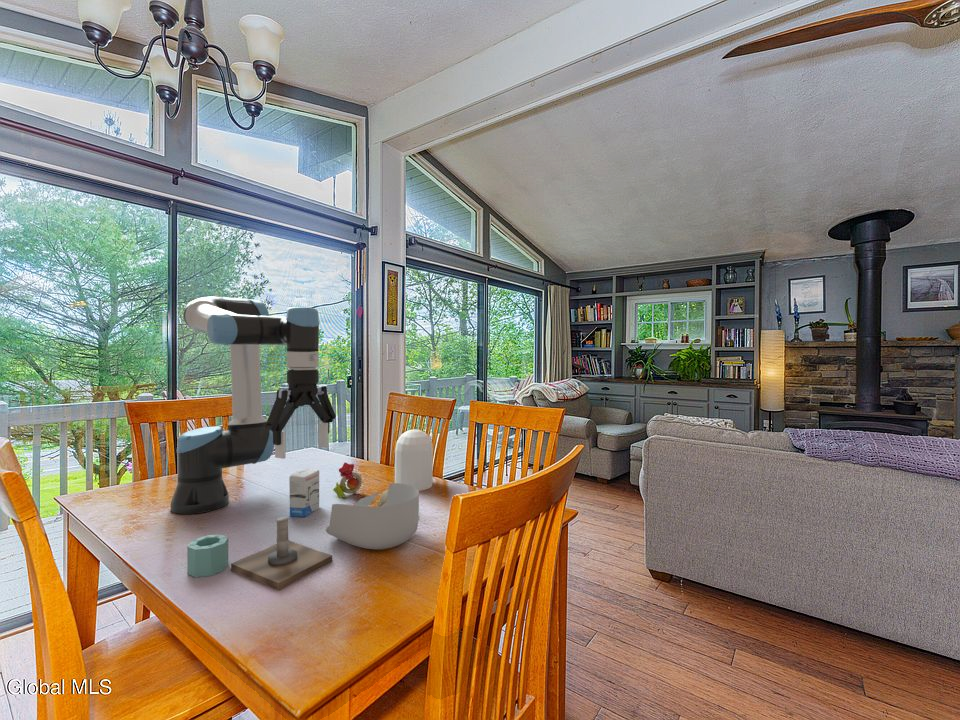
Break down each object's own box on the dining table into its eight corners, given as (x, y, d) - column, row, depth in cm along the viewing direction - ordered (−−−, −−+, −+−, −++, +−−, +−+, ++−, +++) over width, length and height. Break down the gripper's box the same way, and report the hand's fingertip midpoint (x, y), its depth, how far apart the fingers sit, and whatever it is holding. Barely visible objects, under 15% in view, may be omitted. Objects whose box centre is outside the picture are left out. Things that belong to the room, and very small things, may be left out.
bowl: (379, 564, 102) (379, 513, 102) (323, 544, 112) (323, 497, 112) (433, 534, 119) (434, 489, 119) (380, 518, 129) (380, 477, 129)
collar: (182, 571, 98) (181, 544, 98) (215, 557, 104) (215, 532, 104) (200, 580, 95) (200, 551, 94) (234, 565, 101) (233, 539, 101)
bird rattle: (350, 497, 153) (325, 491, 148) (362, 465, 155) (339, 458, 150) (357, 502, 148) (332, 497, 143) (370, 470, 150) (346, 463, 145)
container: (440, 483, 163) (440, 428, 162) (416, 493, 151) (416, 434, 151) (411, 477, 170) (412, 424, 169) (386, 486, 158) (386, 430, 158)
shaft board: (230, 570, 99) (230, 523, 98) (286, 545, 111) (285, 503, 111) (278, 590, 91) (278, 539, 91) (332, 561, 103) (332, 516, 103)
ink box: (304, 517, 129) (303, 477, 129) (288, 516, 130) (288, 475, 130) (320, 507, 138) (320, 469, 137) (305, 505, 139) (305, 468, 138)
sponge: (409, 527, 134) (420, 494, 139) (393, 517, 126) (405, 483, 131) (383, 521, 138) (395, 489, 142) (367, 512, 130) (380, 478, 135)
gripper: (270, 371, 101) (270, 465, 102) (349, 367, 123) (349, 444, 124) (248, 370, 105) (248, 461, 105) (328, 366, 127) (328, 441, 128)
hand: (302, 452), depth 115 cm, fingers open, 13 cm apart
